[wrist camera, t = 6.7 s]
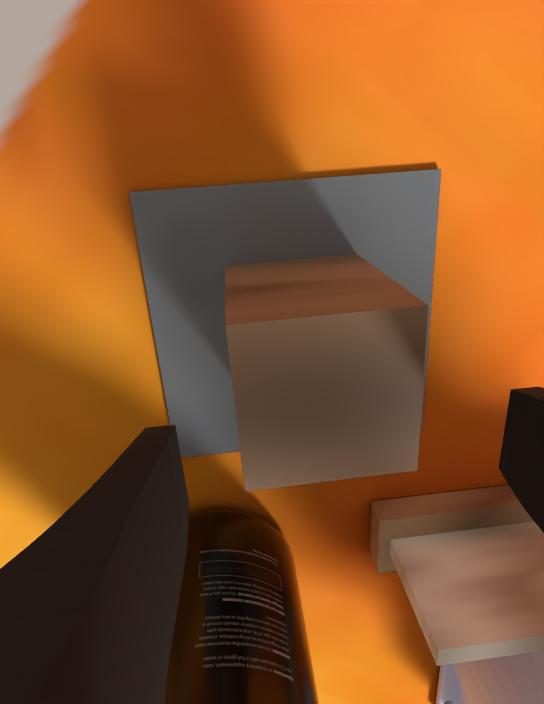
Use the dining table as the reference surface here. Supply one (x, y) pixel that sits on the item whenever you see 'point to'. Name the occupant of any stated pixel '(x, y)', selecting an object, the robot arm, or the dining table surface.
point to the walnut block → (324, 370)
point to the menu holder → (466, 570)
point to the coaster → (256, 247)
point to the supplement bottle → (238, 617)
